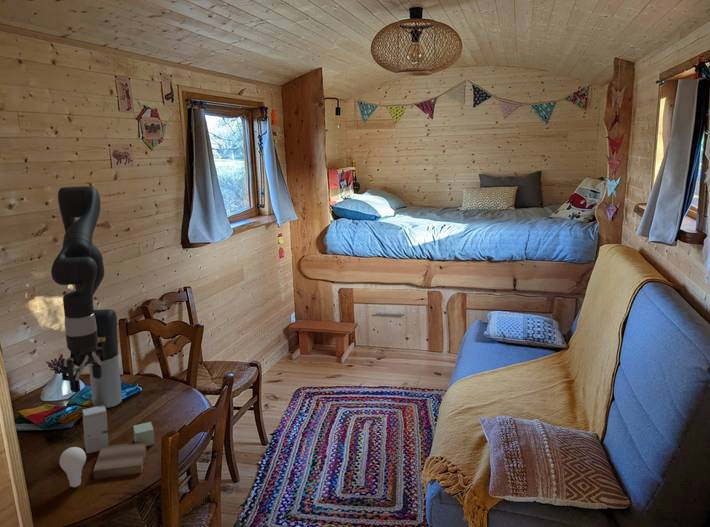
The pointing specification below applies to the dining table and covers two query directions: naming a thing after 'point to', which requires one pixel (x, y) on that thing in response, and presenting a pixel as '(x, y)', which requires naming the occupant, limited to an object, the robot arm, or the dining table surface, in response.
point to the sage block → (144, 433)
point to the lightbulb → (73, 464)
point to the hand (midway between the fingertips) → (87, 384)
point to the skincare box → (95, 428)
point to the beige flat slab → (120, 460)
